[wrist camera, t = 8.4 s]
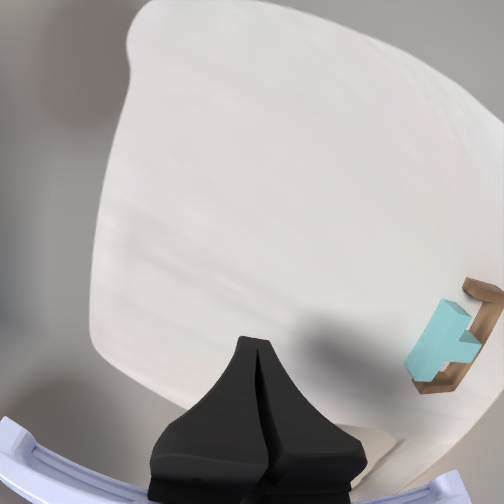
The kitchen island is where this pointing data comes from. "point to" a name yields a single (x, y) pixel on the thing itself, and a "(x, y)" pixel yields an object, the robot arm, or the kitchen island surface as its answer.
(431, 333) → the t block
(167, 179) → the kitchen island surface
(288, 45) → the kitchen island surface
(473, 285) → the wooden drawer handle
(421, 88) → the kitchen island surface
